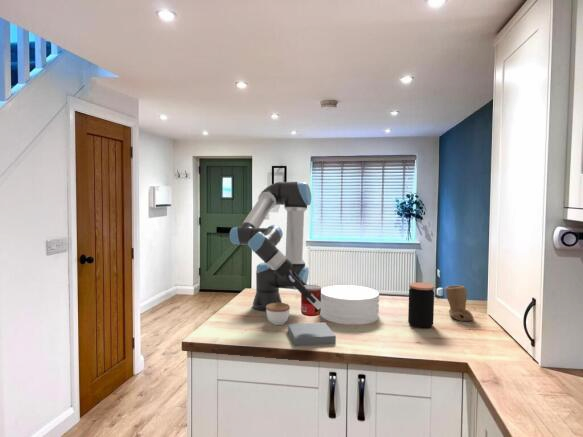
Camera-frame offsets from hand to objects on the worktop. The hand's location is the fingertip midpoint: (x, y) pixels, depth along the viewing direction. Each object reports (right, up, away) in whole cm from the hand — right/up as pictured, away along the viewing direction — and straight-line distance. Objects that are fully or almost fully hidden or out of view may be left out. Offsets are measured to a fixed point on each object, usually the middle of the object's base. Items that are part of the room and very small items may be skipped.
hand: (319, 304), depth 149 cm
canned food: (-3, -4, 0) cm, 5 cm away
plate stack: (+17, -13, +30) cm, 37 cm away
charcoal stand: (-3, -14, +1) cm, 14 cm away
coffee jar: (+47, -13, +17) cm, 51 cm away
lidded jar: (-17, -13, +18) cm, 28 cm away
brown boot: (+69, -13, +29) cm, 76 cm away
